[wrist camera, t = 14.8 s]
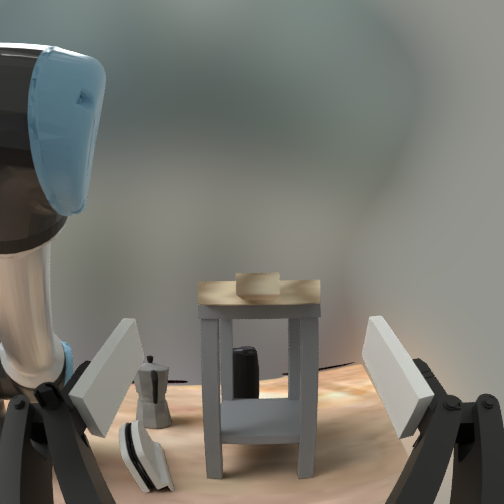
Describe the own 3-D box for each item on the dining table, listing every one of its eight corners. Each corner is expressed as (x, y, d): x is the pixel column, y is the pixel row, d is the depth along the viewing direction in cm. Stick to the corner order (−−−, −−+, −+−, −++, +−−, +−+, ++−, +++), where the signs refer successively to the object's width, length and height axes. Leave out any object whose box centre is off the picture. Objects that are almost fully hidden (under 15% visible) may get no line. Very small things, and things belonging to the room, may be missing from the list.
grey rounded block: (175, 492, 31) (145, 444, 31) (147, 500, 29) (116, 452, 30) (162, 449, 46) (141, 408, 47) (142, 455, 44) (120, 415, 45)
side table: (205, 478, 36) (198, 305, 42) (223, 429, 59) (220, 308, 66) (315, 478, 35) (320, 303, 42) (298, 428, 59) (299, 307, 65)
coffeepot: (133, 414, 64) (129, 351, 67) (167, 413, 68) (164, 352, 72) (139, 436, 50) (133, 361, 54) (179, 435, 54) (175, 361, 58)
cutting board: (173, 299, 27) (173, 268, 27) (219, 307, 57) (219, 292, 58) (343, 297, 26) (341, 266, 27) (300, 306, 56) (300, 291, 57)
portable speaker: (220, 416, 69) (219, 348, 73) (238, 407, 77) (237, 345, 81) (248, 421, 65) (247, 350, 69) (264, 411, 73) (264, 346, 77)
